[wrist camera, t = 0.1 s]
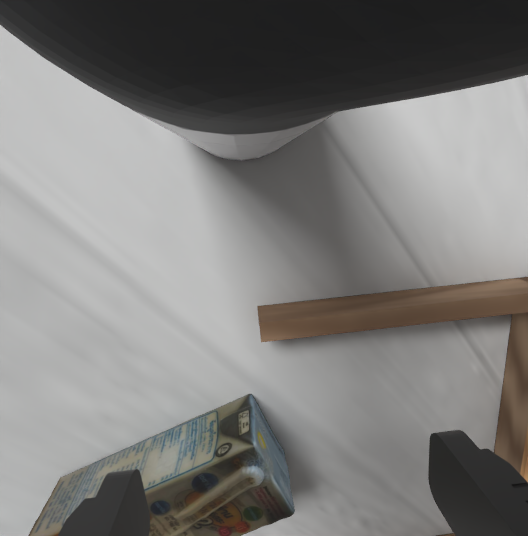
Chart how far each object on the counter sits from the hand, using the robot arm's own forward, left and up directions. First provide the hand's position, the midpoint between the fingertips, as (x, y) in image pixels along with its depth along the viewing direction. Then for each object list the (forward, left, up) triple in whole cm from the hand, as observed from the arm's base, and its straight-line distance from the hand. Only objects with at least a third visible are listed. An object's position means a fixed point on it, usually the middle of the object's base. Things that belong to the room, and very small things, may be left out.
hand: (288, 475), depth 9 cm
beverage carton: (+17, -9, -18) cm, 26 cm away
